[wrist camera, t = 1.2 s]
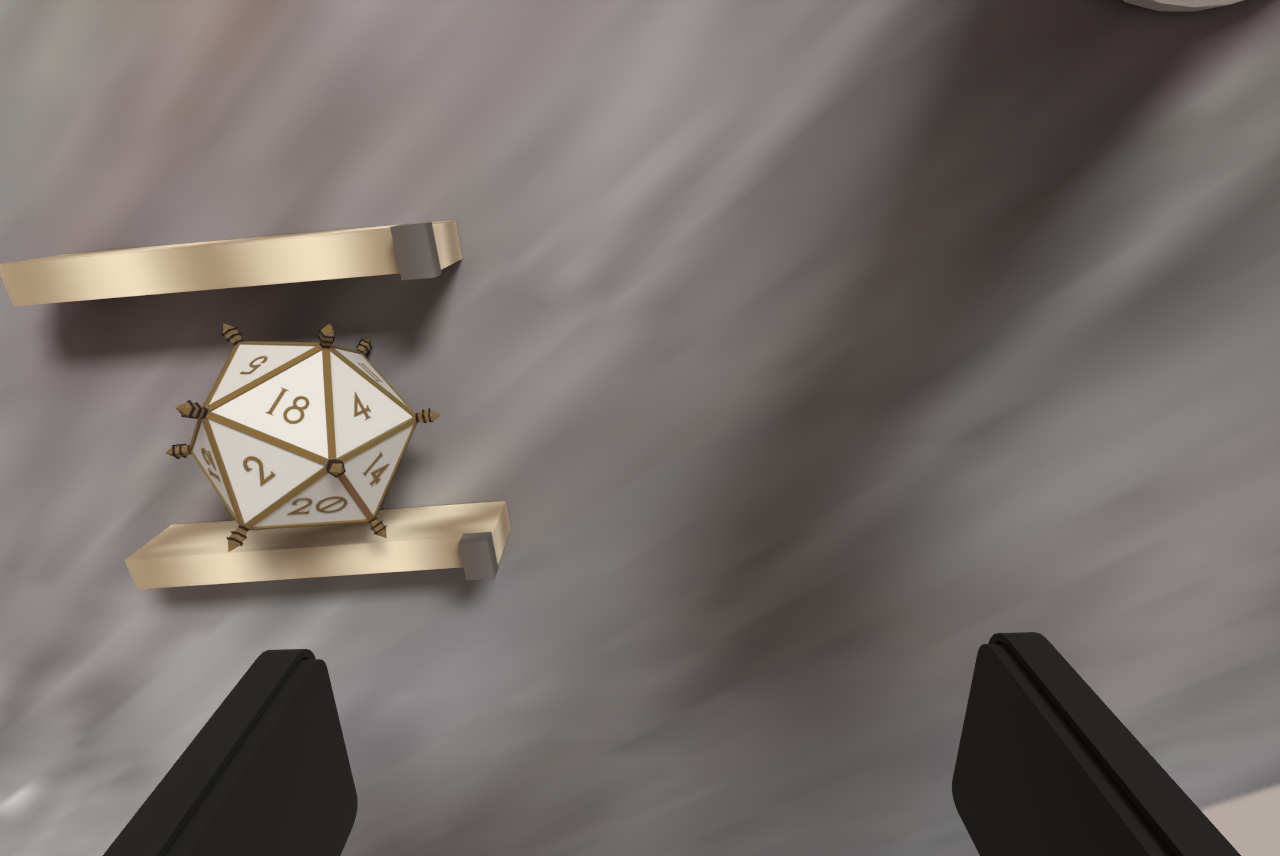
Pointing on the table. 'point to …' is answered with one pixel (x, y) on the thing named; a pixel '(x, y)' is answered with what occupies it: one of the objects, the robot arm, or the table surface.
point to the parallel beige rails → (405, 249)
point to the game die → (300, 434)
